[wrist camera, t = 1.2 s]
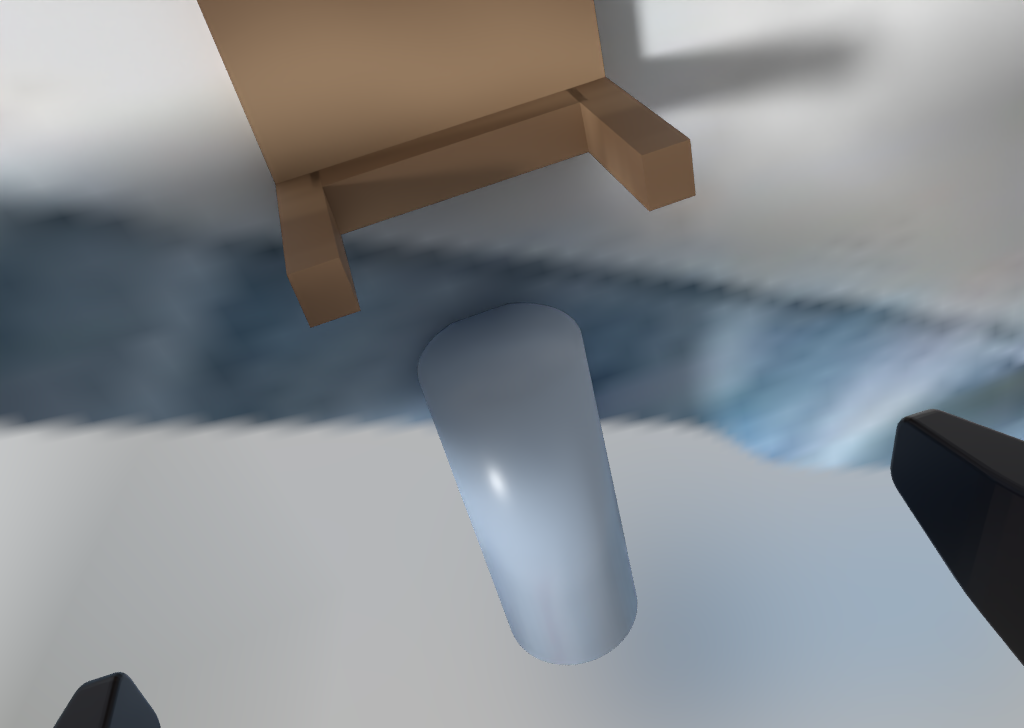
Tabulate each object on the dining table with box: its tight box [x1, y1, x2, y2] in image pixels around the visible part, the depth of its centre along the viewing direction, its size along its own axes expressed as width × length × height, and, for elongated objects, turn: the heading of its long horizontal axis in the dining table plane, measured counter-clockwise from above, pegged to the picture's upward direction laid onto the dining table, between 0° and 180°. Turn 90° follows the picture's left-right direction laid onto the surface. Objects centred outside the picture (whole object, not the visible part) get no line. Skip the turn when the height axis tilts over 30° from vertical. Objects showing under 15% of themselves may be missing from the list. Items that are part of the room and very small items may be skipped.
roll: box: [417, 303, 637, 665], centre depth 25 cm, size 11×4×4 cm, turn 13°
